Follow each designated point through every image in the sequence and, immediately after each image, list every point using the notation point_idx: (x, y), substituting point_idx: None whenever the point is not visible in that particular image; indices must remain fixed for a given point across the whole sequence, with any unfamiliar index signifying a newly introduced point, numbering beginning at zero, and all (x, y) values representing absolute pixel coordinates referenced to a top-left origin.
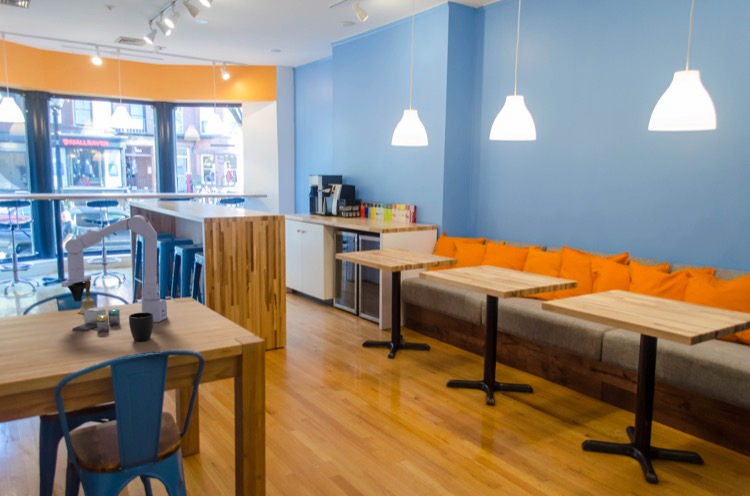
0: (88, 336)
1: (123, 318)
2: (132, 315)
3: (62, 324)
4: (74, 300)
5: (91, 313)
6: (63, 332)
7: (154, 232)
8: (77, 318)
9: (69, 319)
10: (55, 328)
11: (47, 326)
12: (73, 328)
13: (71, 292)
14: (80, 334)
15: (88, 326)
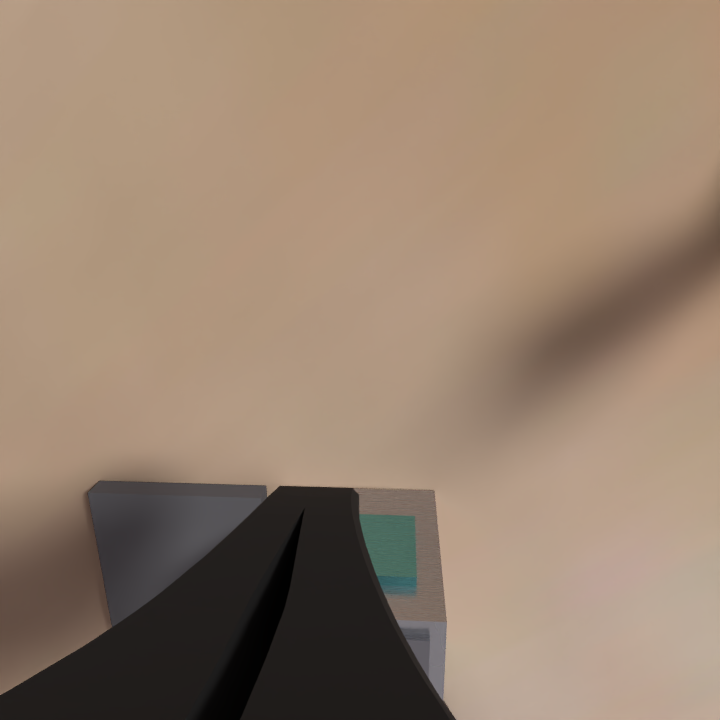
0: None
1: (649, 685)
2: None
3: (247, 201)
4: (265, 501)
5: None
6: (5, 443)
7: None
8: (567, 180)
9: (494, 102)
10: (78, 249)
11: (102, 71)
12: (90, 502)
13: (108, 642)
14: (31, 623)
15: None
